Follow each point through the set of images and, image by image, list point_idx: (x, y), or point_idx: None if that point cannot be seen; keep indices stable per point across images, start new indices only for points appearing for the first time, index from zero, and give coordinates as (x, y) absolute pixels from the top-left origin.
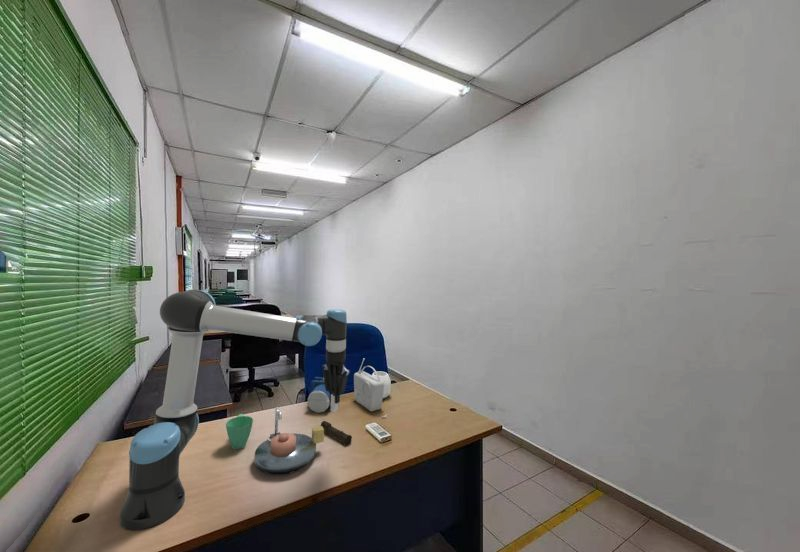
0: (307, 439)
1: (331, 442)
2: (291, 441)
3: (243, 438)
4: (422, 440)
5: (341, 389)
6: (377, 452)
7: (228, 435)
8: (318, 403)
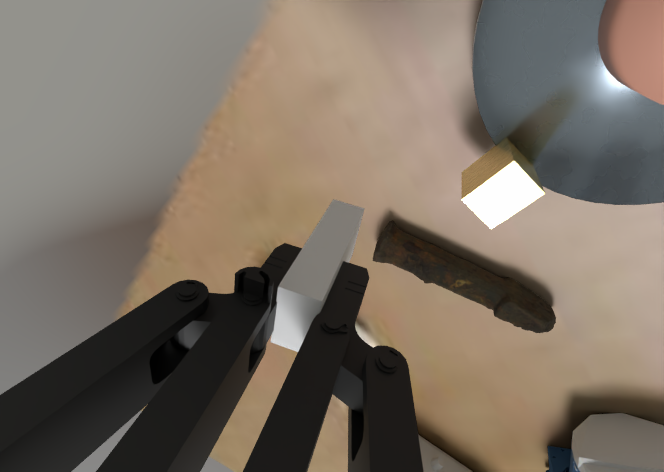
0: (562, 166)
1: (458, 229)
2: (645, 13)
3: None
4: None
5: (120, 324)
6: (265, 212)
7: None
8: (633, 452)
